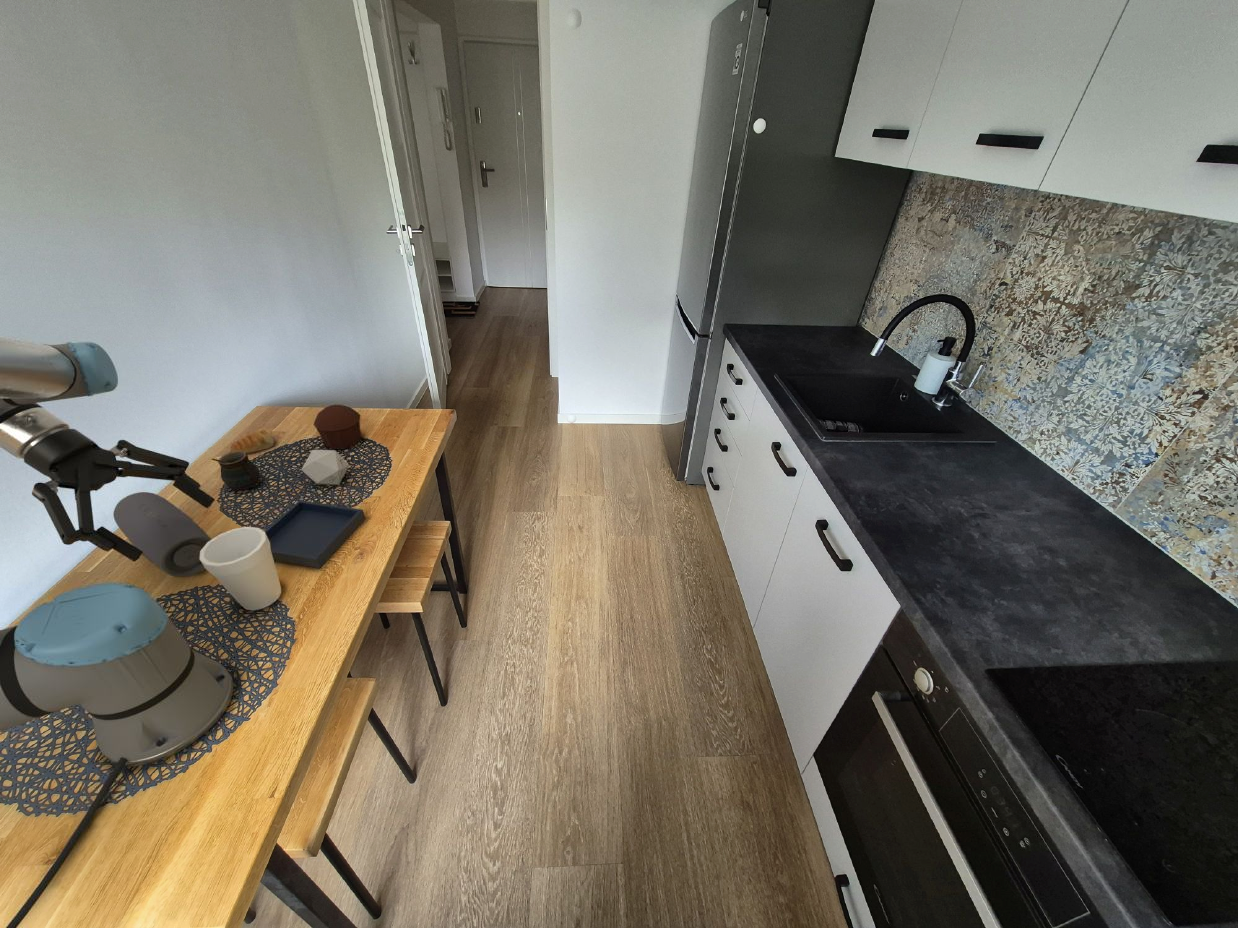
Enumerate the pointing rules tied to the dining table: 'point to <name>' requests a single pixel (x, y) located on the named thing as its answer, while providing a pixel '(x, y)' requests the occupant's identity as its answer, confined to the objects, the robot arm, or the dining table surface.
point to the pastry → (253, 442)
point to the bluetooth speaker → (162, 533)
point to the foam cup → (243, 566)
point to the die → (325, 467)
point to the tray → (311, 532)
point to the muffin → (338, 426)
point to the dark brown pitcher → (238, 470)
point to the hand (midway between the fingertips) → (177, 528)
